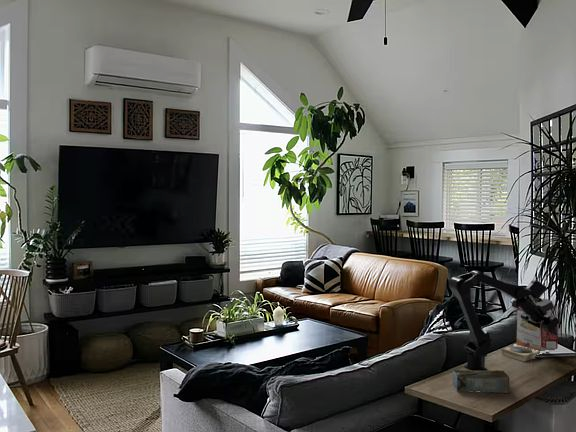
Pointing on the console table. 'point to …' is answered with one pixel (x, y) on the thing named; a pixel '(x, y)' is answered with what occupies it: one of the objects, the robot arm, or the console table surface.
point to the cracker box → (528, 333)
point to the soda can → (548, 339)
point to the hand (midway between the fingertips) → (551, 332)
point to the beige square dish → (520, 352)
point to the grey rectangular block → (481, 381)
